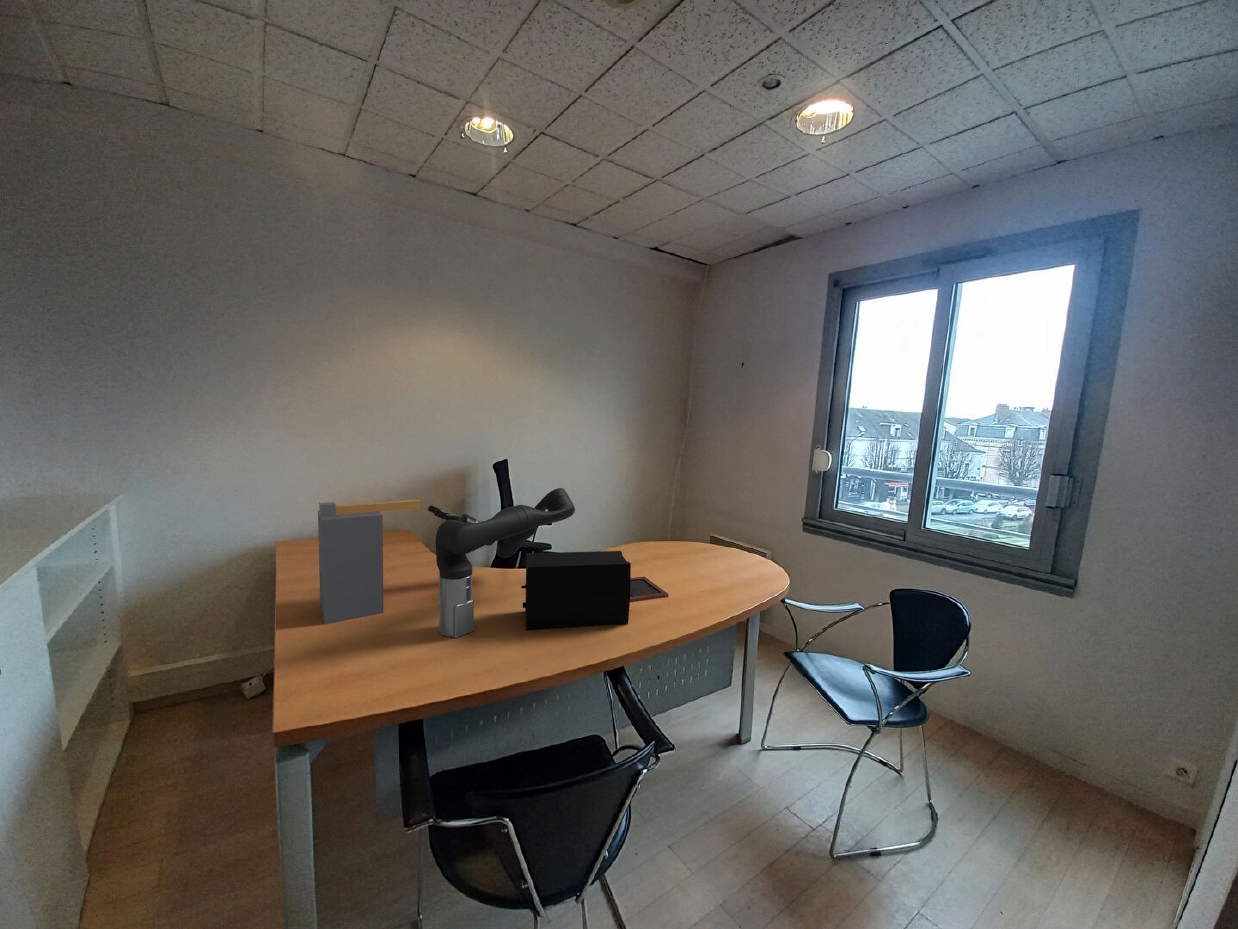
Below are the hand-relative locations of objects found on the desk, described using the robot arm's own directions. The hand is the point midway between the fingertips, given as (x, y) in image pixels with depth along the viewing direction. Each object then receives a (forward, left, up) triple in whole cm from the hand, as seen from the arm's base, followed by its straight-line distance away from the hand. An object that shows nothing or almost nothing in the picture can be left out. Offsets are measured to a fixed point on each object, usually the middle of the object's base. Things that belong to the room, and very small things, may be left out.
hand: (432, 509), depth 160 cm
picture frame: (-51, -50, -31) cm, 78 cm away
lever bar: (+4, +18, +1) cm, 19 cm away
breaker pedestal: (+6, +25, -31) cm, 40 cm away
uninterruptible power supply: (-52, -19, -31) cm, 63 cm away
